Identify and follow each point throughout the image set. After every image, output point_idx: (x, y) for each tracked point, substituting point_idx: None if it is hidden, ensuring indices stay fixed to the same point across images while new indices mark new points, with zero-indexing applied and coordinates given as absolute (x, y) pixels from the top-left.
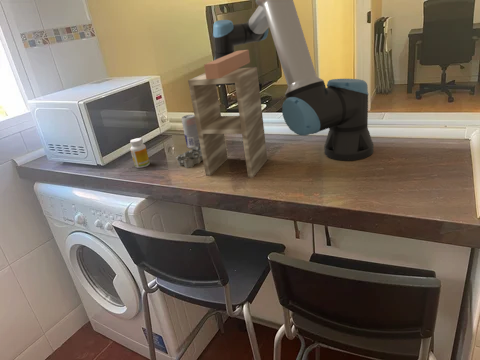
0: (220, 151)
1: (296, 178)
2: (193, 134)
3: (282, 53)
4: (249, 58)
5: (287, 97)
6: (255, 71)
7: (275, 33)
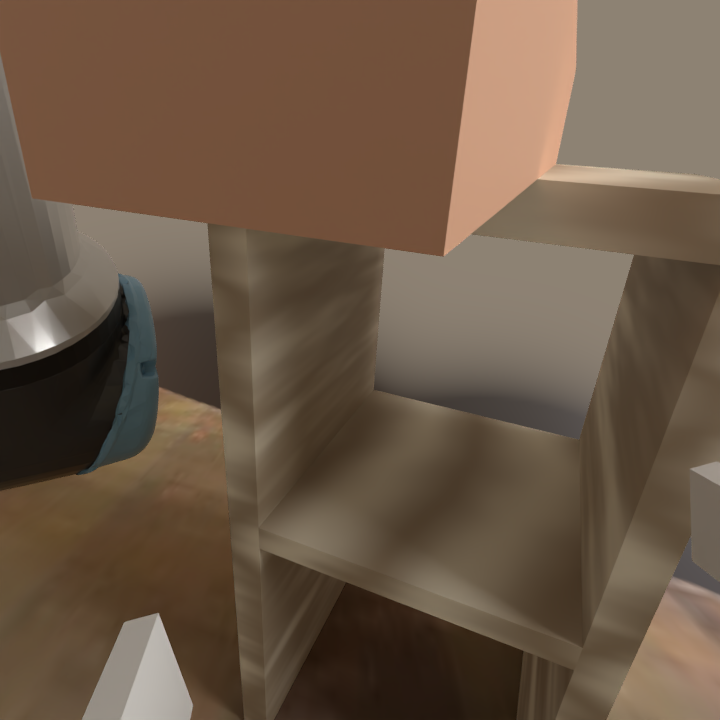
0: (528, 708)
1: (202, 507)
2: None
3: None
4: (12, 42)
5: (120, 305)
6: None
7: None
